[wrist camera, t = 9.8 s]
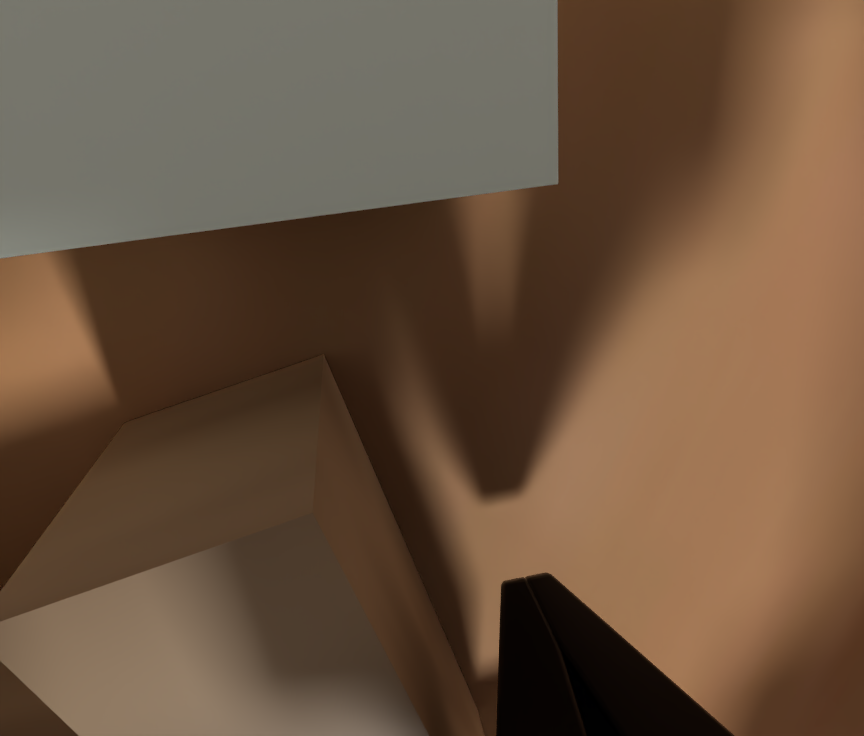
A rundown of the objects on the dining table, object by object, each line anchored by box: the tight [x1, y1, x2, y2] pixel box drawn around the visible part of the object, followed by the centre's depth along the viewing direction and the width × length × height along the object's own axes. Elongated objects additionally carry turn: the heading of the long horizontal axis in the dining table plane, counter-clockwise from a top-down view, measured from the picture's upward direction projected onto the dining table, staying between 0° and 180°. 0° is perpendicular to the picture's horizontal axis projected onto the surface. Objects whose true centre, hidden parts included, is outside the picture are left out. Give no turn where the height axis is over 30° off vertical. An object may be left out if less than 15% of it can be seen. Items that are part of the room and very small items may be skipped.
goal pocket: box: [0, 0, 558, 258], centre depth 8 cm, size 16×13×3 cm
